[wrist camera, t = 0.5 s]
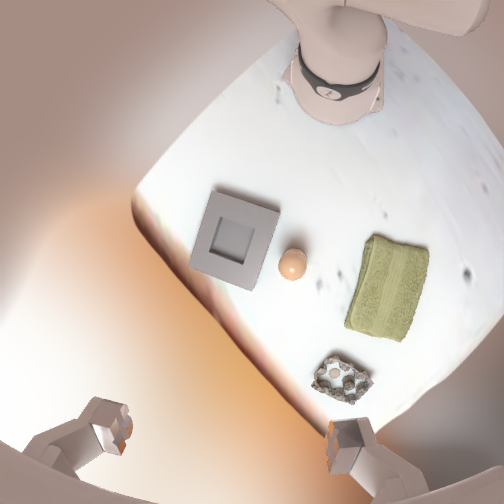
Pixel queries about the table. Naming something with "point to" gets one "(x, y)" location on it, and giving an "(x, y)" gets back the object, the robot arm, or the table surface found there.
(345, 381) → the egg carton
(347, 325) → the washcloth
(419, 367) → the table surface
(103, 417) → the robot arm
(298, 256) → the peach dome-topped peg
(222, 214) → the grey square peg hole
